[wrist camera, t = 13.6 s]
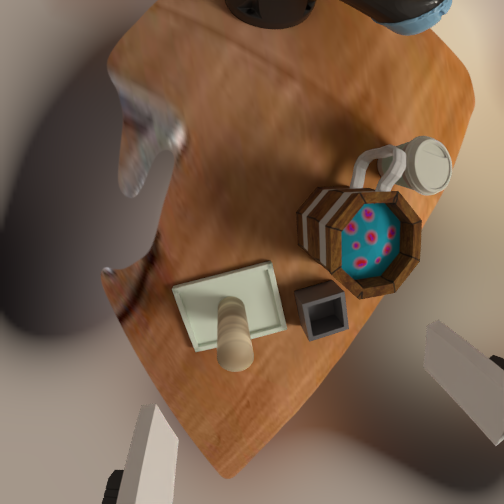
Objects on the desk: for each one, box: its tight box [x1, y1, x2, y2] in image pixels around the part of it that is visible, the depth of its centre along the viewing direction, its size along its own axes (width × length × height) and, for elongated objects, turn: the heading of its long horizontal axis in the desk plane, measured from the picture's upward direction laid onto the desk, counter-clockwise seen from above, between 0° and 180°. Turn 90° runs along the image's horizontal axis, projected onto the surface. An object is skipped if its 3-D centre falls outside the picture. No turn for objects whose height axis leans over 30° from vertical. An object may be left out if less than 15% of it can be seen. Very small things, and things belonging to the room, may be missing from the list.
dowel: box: [217, 296, 254, 372], centre depth 41 cm, size 4×4×14 cm
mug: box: [296, 145, 422, 299], centre depth 39 cm, size 20×14×15 cm
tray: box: [172, 261, 287, 352], centre depth 47 cm, size 12×16×1 cm
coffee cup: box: [377, 136, 452, 195], centre depth 39 cm, size 8×8×12 cm
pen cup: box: [294, 280, 349, 341], centre depth 47 cm, size 7×7×6 cm
